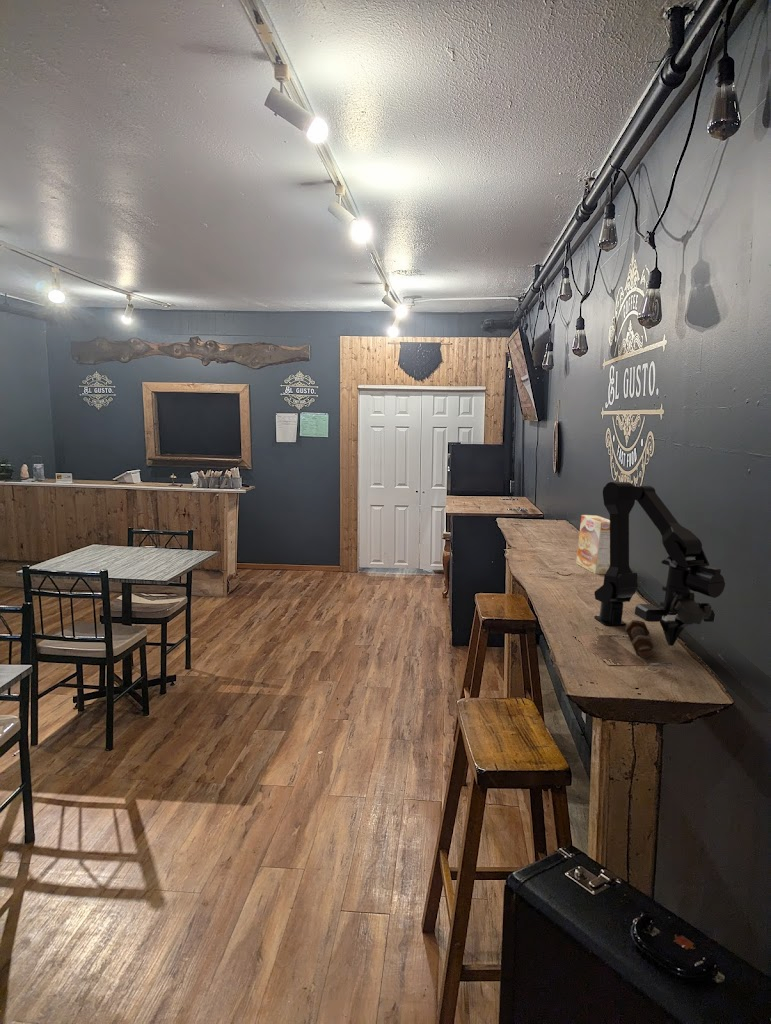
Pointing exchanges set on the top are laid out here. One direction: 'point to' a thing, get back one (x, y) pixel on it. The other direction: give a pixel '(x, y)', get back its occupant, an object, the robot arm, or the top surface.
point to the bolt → (640, 638)
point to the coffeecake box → (594, 544)
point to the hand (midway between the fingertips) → (670, 645)
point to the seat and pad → (613, 650)
